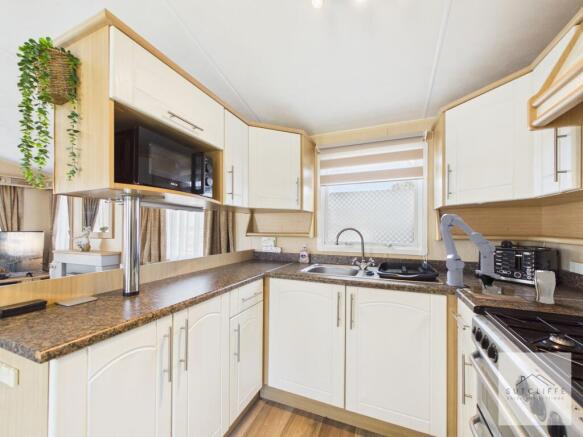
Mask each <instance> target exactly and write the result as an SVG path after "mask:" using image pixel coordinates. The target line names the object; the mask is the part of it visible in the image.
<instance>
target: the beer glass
mask: <svg viewBox="0 0 583 437" xmlns="http://www.w3.org/2000/svg"><path fill="white" fill-rule="evenodd" d="M533 279H534V286H535V289H536V295H537V296H536V298H535V301H536V302H537V303H542V304H547V305H548V304H549V305H555V300H554V292H555V288H556V274H555V272H554V271H550V270H540V269H537V270H536V269H535V270H534V278H533Z"/></svg>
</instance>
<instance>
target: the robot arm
mask: <svg viewBox="0 0 583 437" xmlns="http://www.w3.org/2000/svg"><path fill="white" fill-rule="evenodd" d="M454 226H456V227H458V228H459V229H461V231H464V233H466V234H467V236H468V239H469V240H470V241H471V242H472V243H473V244H474V245H475V246H476V247H478V251H479V252H480V269H475V274H476V275H477V274H479V278H480V280H481V281H482V284H483V285H482V286H483V287H484V289H485V285H492V284H493V282H494V281H495V280H499V279H501V275H500V274H498V273H495V256H494V254H495V253H494V252H495V251H496V246H495V244H494V243H493V242H490V241H489V240H488V239H486V238H485V237H484V236H483V234H482V233H480V232H477V231H474V230H473V229H472V228H471V227H470V226H469V225H468V224H467V223H466V221H464V220H463V218H462V217H460V216H459V215H458V214H455V213H453V214H451V213H445V214H443V215H442V216H441V217H440V223H439V231H440V235H441V238H442V242H443V244H444V249H445V252H446V255H447V256H446V258H445V261H446V263H445V266H446V268H447V269H448V271H447V274H446V280H447V281H445V283H446V284H447V285H448V286H450V287H451V286H452V287H459V288H460V287H461V288H466V286H465V285H464V284H463V281H464V280H463V279H464V278H463V273H464V272H463V270H464V268H465V265H466V264H465V262H464V261H463V260H462V257H461V256H460V255H459V254H458V251H457V248H456V245H455V241H454V239H453V234H452V231H451V230H452V229H453V227H454Z"/></svg>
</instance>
